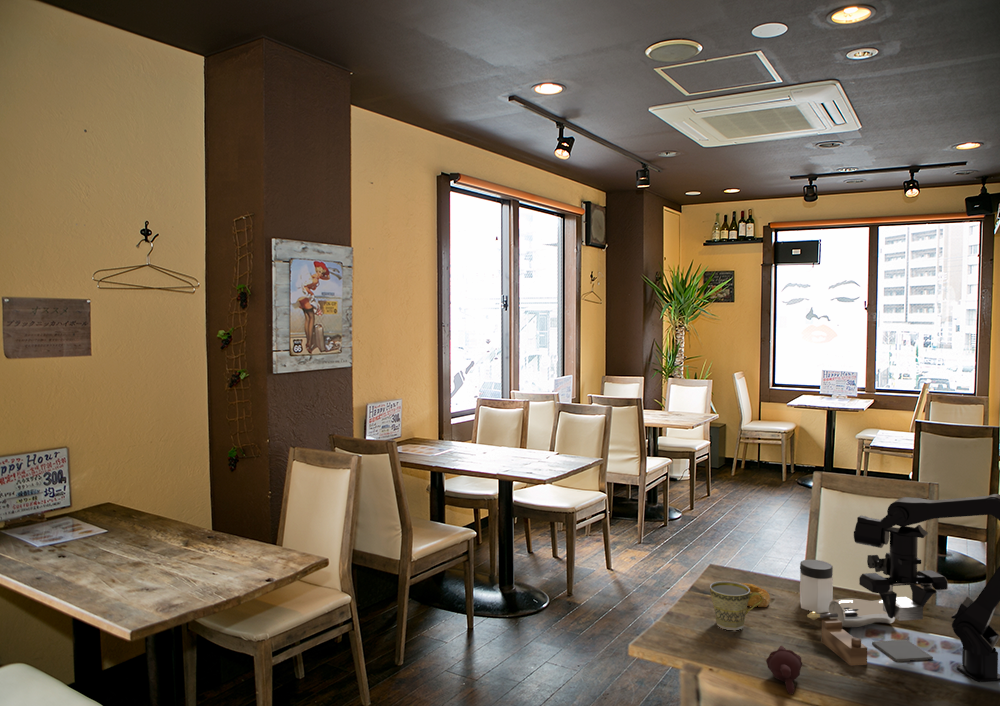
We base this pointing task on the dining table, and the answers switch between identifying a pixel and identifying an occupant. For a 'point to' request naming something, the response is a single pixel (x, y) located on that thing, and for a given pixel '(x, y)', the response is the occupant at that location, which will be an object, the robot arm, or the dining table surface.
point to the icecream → (785, 666)
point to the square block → (907, 609)
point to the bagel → (757, 598)
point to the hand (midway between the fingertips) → (902, 616)
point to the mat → (902, 650)
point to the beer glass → (858, 612)
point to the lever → (821, 615)
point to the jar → (816, 585)
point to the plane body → (843, 643)
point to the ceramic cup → (731, 603)
